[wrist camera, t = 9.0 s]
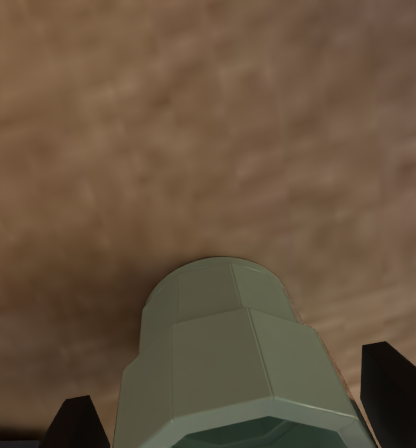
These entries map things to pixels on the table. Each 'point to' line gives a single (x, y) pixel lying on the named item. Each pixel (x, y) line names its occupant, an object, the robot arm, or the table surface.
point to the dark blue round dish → (20, 444)
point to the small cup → (232, 368)
